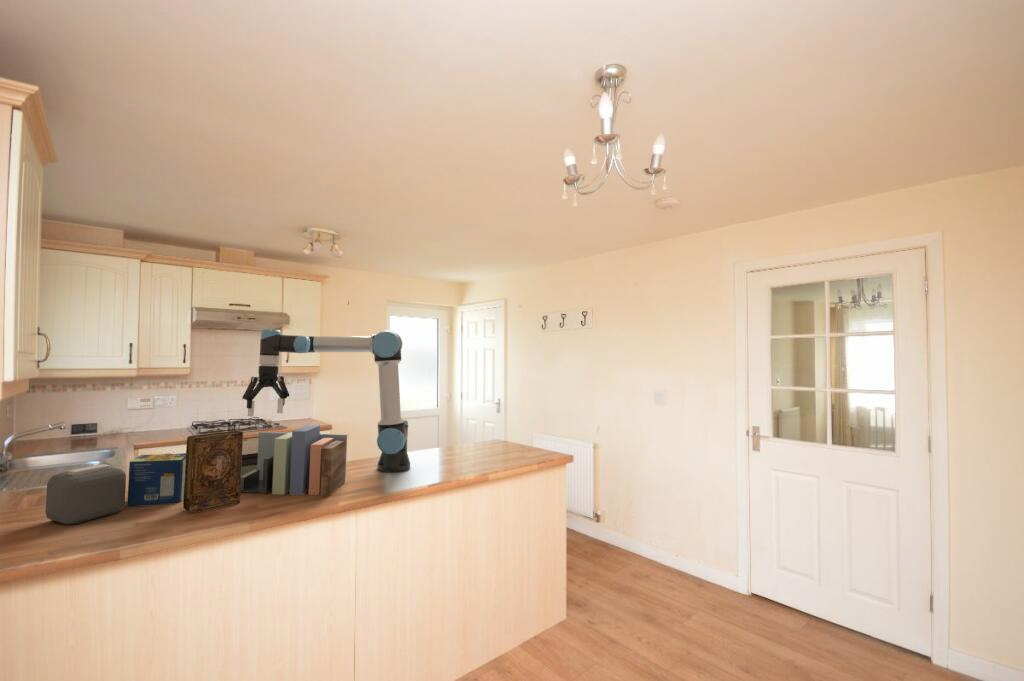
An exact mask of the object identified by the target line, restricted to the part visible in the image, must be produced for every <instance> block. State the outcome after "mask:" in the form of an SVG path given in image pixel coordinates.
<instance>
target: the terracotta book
mask: <svg viewBox="0 0 1024 681" xmlns="http://www.w3.org/2000/svg"><path fill="white" fill-rule="evenodd" d="M333 442H334V438H323V439H321V440H319V441H317V442H315V443H313V444H311V450H310V473H309V490H308V495H313V496H314V495H317V496H319V495H320V493H321V469H322V448H324V447H326V446H327V445H329V444H331V443H333Z"/></svg>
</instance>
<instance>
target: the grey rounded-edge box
mask: <svg viewBox="0 0 1024 681" xmlns="http://www.w3.org/2000/svg"><path fill="white" fill-rule="evenodd" d="M126 484H127V476H126V472H125V471H124V470H122V469H121V468H115V467H112V466H111V465H110V464H105V463H104V464H98V465H91V466H87V467H81V468H76V469H70V470H68V471H64V472H58V473H56V474H54V475H52V476H51V477H50V478H48V481H47V484H46V497H45V516H46V519H49V520H50V521H53V522H57V523H60V524H64V525H76V524H80V523H83V522H87V521H91V520H94V519H97V518H101V517H105V516H109V515H112V514H116V513H118V512H121V510H122V509H124V506H125V503H126V486H127V485H126Z"/></svg>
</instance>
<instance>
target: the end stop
mask: <svg viewBox="0 0 1024 681" xmlns="http://www.w3.org/2000/svg"><path fill="white" fill-rule="evenodd" d="M345 450H346V440H336V441H334V442H333V443H331V444H329V445H327V446H326V447H324V448H322V469H321V493H320V494H319V495H320V497H321V496H322V497H330V496H332V495H333V494H334V493H335V492H336V491H337V490H338V489H339V488H341V487H342V486H343V485H344V484H345V483H344V474H345Z"/></svg>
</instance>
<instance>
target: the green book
mask: <svg viewBox="0 0 1024 681" xmlns="http://www.w3.org/2000/svg"><path fill="white" fill-rule="evenodd" d="M287 433H288V434H285V435H283V436H280V437H278V438H275V440H274V463H273V485H272V490H271V494H272V495H285V494H287V493H288V492H290V470H291V447H292V431H289V432H287Z"/></svg>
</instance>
